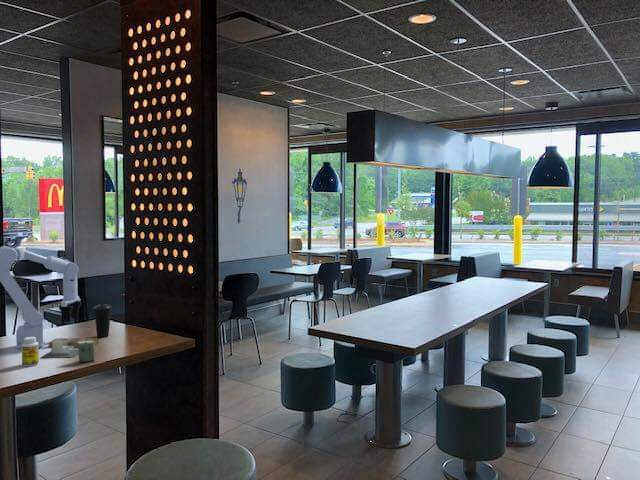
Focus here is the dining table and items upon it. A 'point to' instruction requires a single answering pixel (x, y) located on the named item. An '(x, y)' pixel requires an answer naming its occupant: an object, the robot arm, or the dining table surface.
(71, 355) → the mat
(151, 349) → the dining table surface
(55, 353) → the grey stepped block
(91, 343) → the small box
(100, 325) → the drinking cup
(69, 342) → the body
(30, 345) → the supplement bottle
